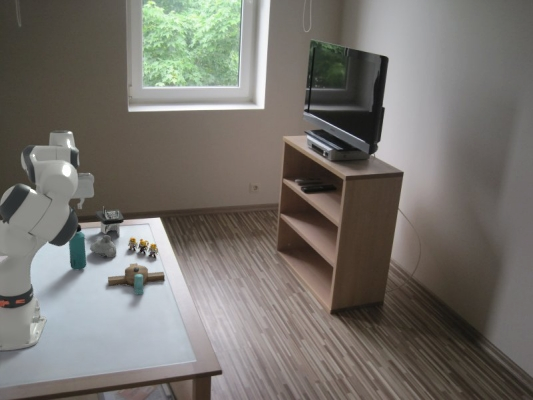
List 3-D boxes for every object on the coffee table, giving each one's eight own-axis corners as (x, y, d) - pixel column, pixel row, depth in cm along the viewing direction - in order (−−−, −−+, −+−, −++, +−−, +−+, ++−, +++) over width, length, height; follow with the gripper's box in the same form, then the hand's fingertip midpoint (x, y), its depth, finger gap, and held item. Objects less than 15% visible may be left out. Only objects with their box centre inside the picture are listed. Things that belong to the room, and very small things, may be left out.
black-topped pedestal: (77, 226, 280) (76, 201, 275) (131, 221, 290) (131, 196, 286) (86, 251, 256) (84, 223, 251) (144, 243, 267) (144, 217, 262)
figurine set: (131, 247, 262) (130, 234, 260) (160, 256, 255) (160, 242, 253) (126, 249, 259) (125, 236, 257) (155, 259, 252) (155, 245, 250)
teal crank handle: (133, 286, 227) (133, 271, 225) (141, 286, 228) (141, 270, 226) (135, 294, 222) (134, 278, 220) (143, 293, 223) (143, 277, 221)
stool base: (165, 284, 232) (165, 270, 230) (109, 289, 225) (108, 276, 223) (160, 266, 246) (159, 253, 244) (106, 271, 239) (106, 258, 237)
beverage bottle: (89, 266, 242) (87, 222, 235) (83, 274, 236) (80, 229, 229) (74, 265, 242) (71, 221, 235) (67, 272, 236) (64, 227, 229)
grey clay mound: (121, 257, 257) (126, 238, 252) (103, 267, 247) (108, 248, 242) (101, 244, 261) (105, 225, 256) (82, 254, 251) (86, 234, 246)
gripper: (93, 169, 214) (95, 204, 219) (34, 172, 208) (37, 207, 213) (94, 175, 209) (96, 210, 214) (33, 177, 202) (36, 214, 207)
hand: (66, 209), depth 213 cm, fingers open, 8 cm apart
